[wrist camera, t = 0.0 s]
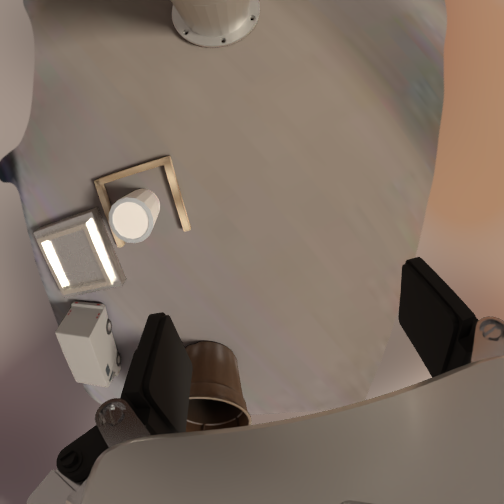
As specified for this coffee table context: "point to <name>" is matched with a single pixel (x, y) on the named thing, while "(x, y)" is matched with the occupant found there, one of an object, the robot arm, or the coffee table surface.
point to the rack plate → (80, 254)
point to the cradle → (139, 168)
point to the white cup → (134, 215)
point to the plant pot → (215, 389)
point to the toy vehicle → (89, 344)
